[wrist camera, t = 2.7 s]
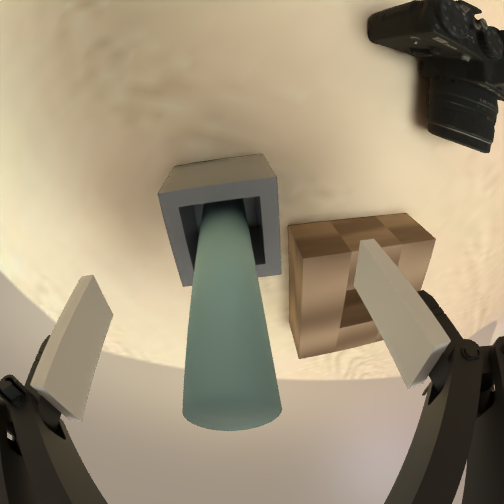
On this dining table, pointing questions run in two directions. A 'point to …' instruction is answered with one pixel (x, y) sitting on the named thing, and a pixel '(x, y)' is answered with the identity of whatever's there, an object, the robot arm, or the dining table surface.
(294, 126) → the dining table surface
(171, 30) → the dining table surface
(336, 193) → the dining table surface
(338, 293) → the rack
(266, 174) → the pen cup
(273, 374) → the dowel
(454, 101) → the camera
